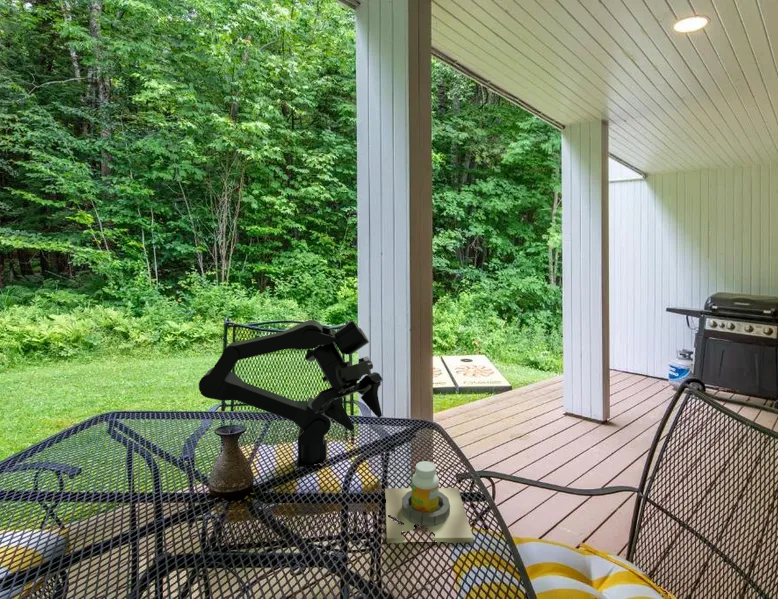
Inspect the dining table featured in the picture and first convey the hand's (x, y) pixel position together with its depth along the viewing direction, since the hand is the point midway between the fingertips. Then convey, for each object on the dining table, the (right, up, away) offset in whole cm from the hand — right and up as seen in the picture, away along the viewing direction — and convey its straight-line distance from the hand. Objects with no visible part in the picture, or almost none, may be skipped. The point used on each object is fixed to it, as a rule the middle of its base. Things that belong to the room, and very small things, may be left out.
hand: (367, 423), depth 102 cm
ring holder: (+12, -16, -11) cm, 23 cm away
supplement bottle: (+12, -15, -11) cm, 22 cm away
